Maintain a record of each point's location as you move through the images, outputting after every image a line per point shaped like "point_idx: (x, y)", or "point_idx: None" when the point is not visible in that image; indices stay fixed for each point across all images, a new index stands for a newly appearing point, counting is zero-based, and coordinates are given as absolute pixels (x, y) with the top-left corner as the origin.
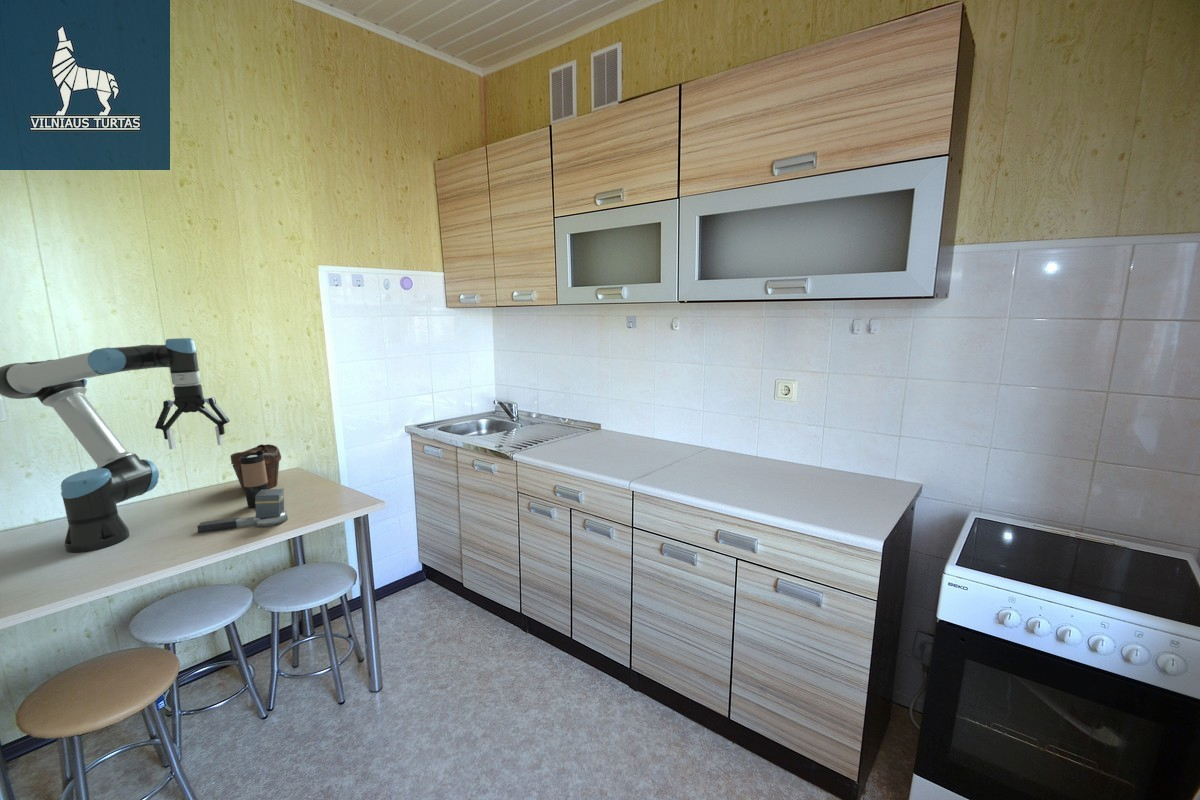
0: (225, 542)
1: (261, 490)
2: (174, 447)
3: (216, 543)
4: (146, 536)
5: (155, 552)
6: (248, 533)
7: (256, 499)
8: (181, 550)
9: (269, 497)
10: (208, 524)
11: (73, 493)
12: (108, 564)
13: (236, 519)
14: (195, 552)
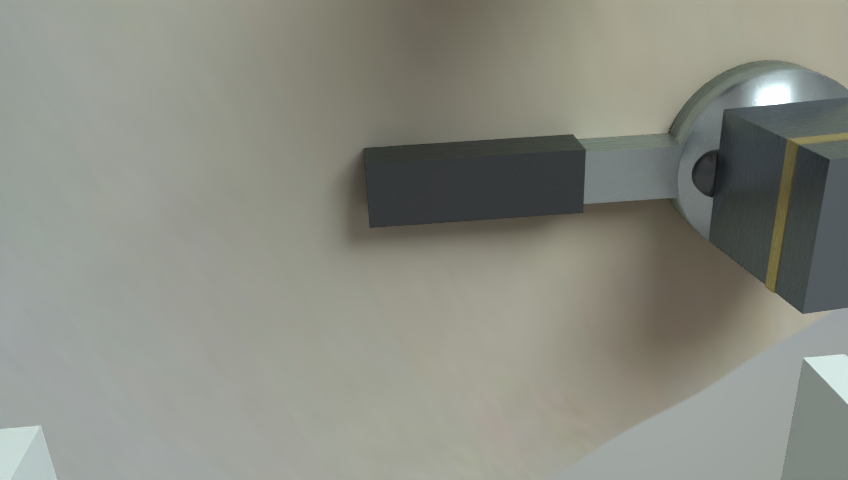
0: (569, 380)
1: (833, 186)
2: (50, 477)
3: (527, 380)
4: (45, 153)
5: (262, 404)
6: (655, 297)
7: (791, 299)
8: (385, 415)
9: None
10: (431, 221)
11: None
12: (110, 476)
13: (581, 186)
14: (465, 453)
